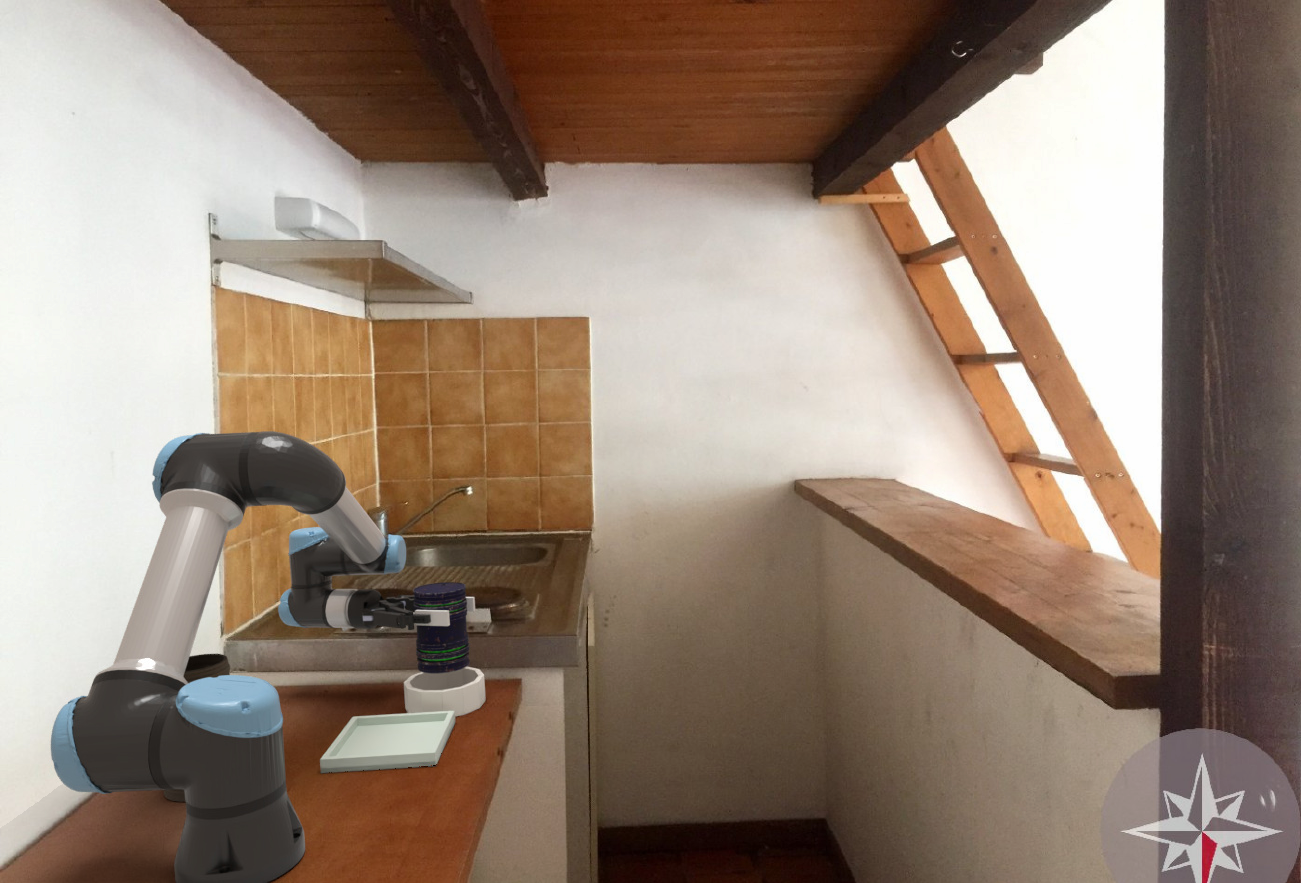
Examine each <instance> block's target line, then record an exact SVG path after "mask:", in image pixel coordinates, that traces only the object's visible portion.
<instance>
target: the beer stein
mask: <svg viewBox="0 0 1301 883" xmlns="http://www.w3.org/2000/svg"><path fill="white" fill-rule="evenodd" d="M230 671H231V666H230V663H229V659H228V657H227V656H226V655H225V654H221V653H203V654H195V655H190V656H189V660H188V663H187V666H186V669H185V673H184V678H185V680H186V681H187V682H188V683H190V682H193V681H196V680H199V679H203V678H208V677H212V678H216V677H218V676H223V675H231V674H230ZM163 795H164V797H165V798H166V800H167V799H168V800H169V801H172V802H181V803H183V802H184V803H186V801H185V791H184V790H182V789H171V790H163Z"/></svg>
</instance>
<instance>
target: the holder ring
mask: <svg viewBox="0 0 1301 883" xmlns="http://www.w3.org/2000/svg"><path fill="white" fill-rule="evenodd" d="M485 683H486V682H485V674H484V673H483V672H482V670H481V669H480V668H476V667H471V666H467V667H465V668H463V669H461V670H458V671H454V672H448V673H439V674H430V673H423V672H420V671H419V672H418V673H415V674H412V675H410V676H409V677H408V678H407V679H406V680H405V681H403V691H404V692H403V694H404V704H405V705H404V706H405V707H404V708H405V710H406V713H422V712H438V711H455V718H456V717H458V716H460V717H461V716H465V715H467V714H470V713H472V712H474V711H476V710H478V709H481V707H482V705H483V704H484V703H485V702H486V700H487V699H486V686H485V685H486V684H485Z"/></svg>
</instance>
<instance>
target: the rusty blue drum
mask: <svg viewBox="0 0 1301 883" xmlns="http://www.w3.org/2000/svg"><path fill="white" fill-rule="evenodd" d="M466 590H467V587H466V584H464V583H462V582H456V581H455V582H454V581H453V582H452V581H449V582H447V581H446V582H433V583H428V584H424V585H420V586H419V585H418V586H416V587H415V588H414V589H413V590H412V591H413V595H414V610H449V619H450V625H449V626H422V625H416V639H415V645H416V647H415V653H416V654H415V655H416V657H417V658H416V659H417V660H416V662H418V663H417V670H418V671H419V673H420V672H423V673H430V674H439V673H448V672H454V671H458V670H461V669H463V668H465V667H469V665H470V664H471V663H470V658H469V656H470V642H469V633H468V630H467V615H468V612H467V598H466V597H467V592H466Z"/></svg>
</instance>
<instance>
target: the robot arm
mask: <svg viewBox="0 0 1301 883" xmlns="http://www.w3.org/2000/svg"><path fill="white" fill-rule="evenodd" d="M152 476H153V477H154V479H153V481H151V484H152V490H153V494H154V496H155V499H156V500H157V502H158V503H159V509H160V511H161V512H162V513H163V514H164V516H165V519H164V522H163V525H162V527H161V530H160V534H159V537H158V539H157V541H156V545H155V548H154V550H153V553H152V555H151V558H150V561H149V565H148V567H147V569H146V573H145V574H144V578H143V581H142V583H141V586H140V589H139V592H138V594H137V597H136V601H135V603H134V606H133V607H132V612H131V614H130V617H129V619H128V622H127V625H126V627H125V628H126V629H125V631H124V634H123V636H122V639H121V642H120V645H119V647H118V650H117V653H116V655H115V659H114V661H113V664H112V665H110V666H109V667H107V668H105V669H102V670H100V671H99V672H98V673H97V674H95V677H94V679H93V681H92V683H91V686H90V689H89V692H88V695H80V696H78V697H74V698H72V699H70V700H69V701H68V702H67V703H66V704H64V705H63V706H62V707H61V708H60V711H59V712H58V714H57V715H56V718H55V720H54V723H53V726H52V730H51V737H50V757H51V761H52V762H53V769H54V771H55V773H56V775H57V777H58V778H59V780H60V782H61V783H62V784H63V785H64V786H66V787H67V788H69V789H70V790H72V791H75V792H79V793H99V794H101V795H107V794H112V793H118V792H119V793H121V792H143V791H145V792H146V791H164V790H171V789H182V790H184V791H185V801H186V802H185V812H186V813H185V814H186V817H185V820H184V823H183V824H184V825H183V827H182V831H181V835H180V839H179V844H178V847H177V851H176V855H175V858H174V864H173V865H174V877H175V883H270V882H271V881H274V880H276V879H277V878H278V877H281V876H283V875H284V874H286V873H287V872H288V871H290V870H291V869H292V868H293V867H295V866H296V865H297V864H298V863H299V862H300V861H301V859H302V858H303V856H304V854H305V852H306V842H305V841H306V839H305V830H304V827H303V825H302V823H301V820H300V818H299V817H298V814H297V812H296V810H295V807H294V806H293V803H292V802H291V801H292V800H291V799H290V797H289V795H288V792H287V791H288V789H287V781H286V780H287V778H286V763H285V762H286V760H285V746H284V729H283V723H284V716H283V713H282V710H281V709H282V708H281V703H280V702H281V701H280V695H279V693H278V691H277V689H276V688H275V686H273V685H272V684H271V683H270V682H268V681H266V680H265V679H262V678H259V677H255V676H249V675H240V674H238V675H237V674H230V675H223V676H218V677H216V678H212V677H208V678H203V679H199V680H196V681H193V682H190V683H188V682H187V681H186V680H185V678H184V673H185V669H186V666H187V663H188V660H189V656H191V654H192V649H193V647H194V643H195V640H196V637H197V634H198V629H199V627H200V623H201V620H202V617H203V613H204V610H205V607H206V604H207V601H208V597H209V594H210V591H211V588H212V585H213V581H214V577H215V574H216V571H217V568H218V565H219V562H220V561H219V560H220V558H221V554H222V552H223V548H224V545H225V542H226V538H227V535H228V532H229V531H231V530H234V529H236V528H238V527H239V526H240V525H241V524H242V522H243V519H244V516H245V512H246V510H247V508H248V507H249V508H250V507H262V506H287V507H292V509H294V510H295V511H296V512H297V513H300V514H303V515H307V516H309V517H310V518H311V519H312V520H313V521H314V522H315V523H316V524H317V525H318V526H313V527H304V528H298V529H295V530H292V531H291V532H290V534H289V536H288V557H289V559H288V560H289V572H290V573H289V574H290V585H291V586H290V588H289V589H286V590H285V591H284V592H283V593H282V595H281V596H280V598H279V602H280V604H278V609H277V611H278V615H279V618H280V620H281V621H282V623H283V624H285V625H287V626H291V627H298V628H299V627H300V628H304V629H309V628H325V629H326V628H330V629H334V628H335V629H338V628H341V629H342V631H343V632H345V631H347V630H348V629H357V630H358V629H359V630H360V629H361V630H373V629H375V628H377V626H379V627H387V628H392V629H393V628H394V629H395V628H396V629H401V630H402V629H406V628H407V630H408V631H413V630H415V626H417V625H422V626H449V625H450V619H449V610H414V594H412V595H411V594H410V595H408V594H407V595H404V594H399V595H397V597H395V596H389V597H388V596H387V597H386V598H385V599H384V597H383V596H382V594H381V593H380V592H379V591H378V590H376V589H373V588H372V589H370V588H369V589H367V588H366V589H365V588H364V589H362V588H361V589H359V588H358V589H357V588H333V587H332V586H333V584H332V583H333V577H341V576H364V575H365V576H367V575H368V576H369V575H371V576H372V575H387V574H388V575H389V574H399V573H400V572H402V571H403V570H404V568H405V565H406V562H407V545H406V542H405V539H404V538H403V537H402V535H399V534H396V535H395V534H384V533H383V532H382V531H381V530H380V529H379V527H378V526H377V525H376V523H375V522H374V521H373V519H372V518H371V517H370V515H369V514H368V512H366V510H365V509H364V507H362V505H361V504H360V503H359V501H358V500H357V499H356V497H355V496H354V495H353V494H352V493H351V491H350V490H349V489H348V487H347V480H346V475H345V473H344V471H343V470H342V469H341V467H340V466H339V465H338V463H336V461H334V460H333V459H332V458H331V457H330V456H329V455H328V454H326V453H325V452H324V451H322V450H321V449H319V448H318V447H316V446H314V445H313V444H311V443H309V442H307V441H305V440H304V439H302V438H299V437H297V436H294V435H292V434H291V435H290V434H287V433H284V432H279V431H274V430H268V431H267V430H266V431H248V432H247V431H246V432H229V433H228V432H227V433H225V432H224V433H209V432H207V433H206V432H199V433H194V434H191V435H190V434H189V435H182V436H181V435H180V436H178V437H175V438H174V439H171V440H169V441H168V442H167V443H166V444H165V445H163V447H162V448H161V450H160V451H159V453H158V454H157V457H156V459H155V461H154V465H153V469H152ZM466 598H467V613H469V612H471V613H472V612H473V613H474V612H476V600H475V599H476V598H475V596H466Z"/></svg>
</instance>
